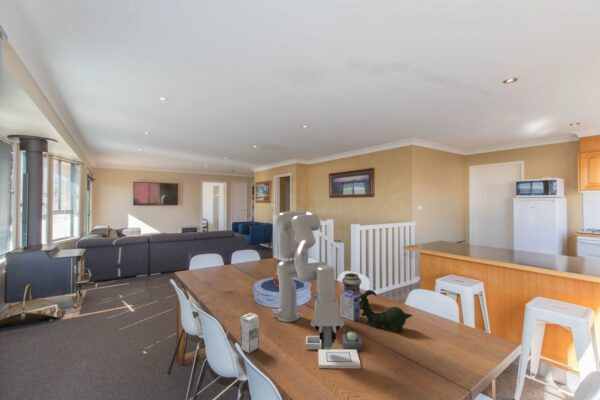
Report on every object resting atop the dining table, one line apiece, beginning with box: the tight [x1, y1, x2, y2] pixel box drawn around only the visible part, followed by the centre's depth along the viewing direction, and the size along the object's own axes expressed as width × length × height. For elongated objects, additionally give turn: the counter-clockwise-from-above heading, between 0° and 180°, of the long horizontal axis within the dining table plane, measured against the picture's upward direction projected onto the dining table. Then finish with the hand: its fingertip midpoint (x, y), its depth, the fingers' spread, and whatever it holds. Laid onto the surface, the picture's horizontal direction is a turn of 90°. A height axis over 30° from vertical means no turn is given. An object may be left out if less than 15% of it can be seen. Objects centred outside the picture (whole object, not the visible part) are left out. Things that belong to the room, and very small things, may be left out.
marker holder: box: [305, 335, 323, 350], centre depth 121 cm, size 7×7×2 cm
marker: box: [322, 327, 334, 350], centre depth 111 cm, size 4×4×10 cm
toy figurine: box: [359, 289, 413, 333], centre depth 136 cm, size 9×19×25 cm
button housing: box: [341, 333, 364, 351], centre depth 120 cm, size 8×8×3 cm
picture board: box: [317, 348, 362, 369], centre depth 109 cm, size 16×11×1 cm
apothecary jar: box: [341, 272, 363, 304], centre depth 169 cm, size 12×12×18 cm
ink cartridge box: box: [339, 290, 361, 322], centre depth 149 cm, size 10×6×14 cm, turn 41°
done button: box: [346, 331, 357, 341], centre depth 120 cm, size 4×4×4 cm
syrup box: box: [240, 312, 260, 354], centre depth 119 cm, size 6×6×14 cm
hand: (327, 340), depth 111 cm, fingers closed on marker, 4 cm apart
